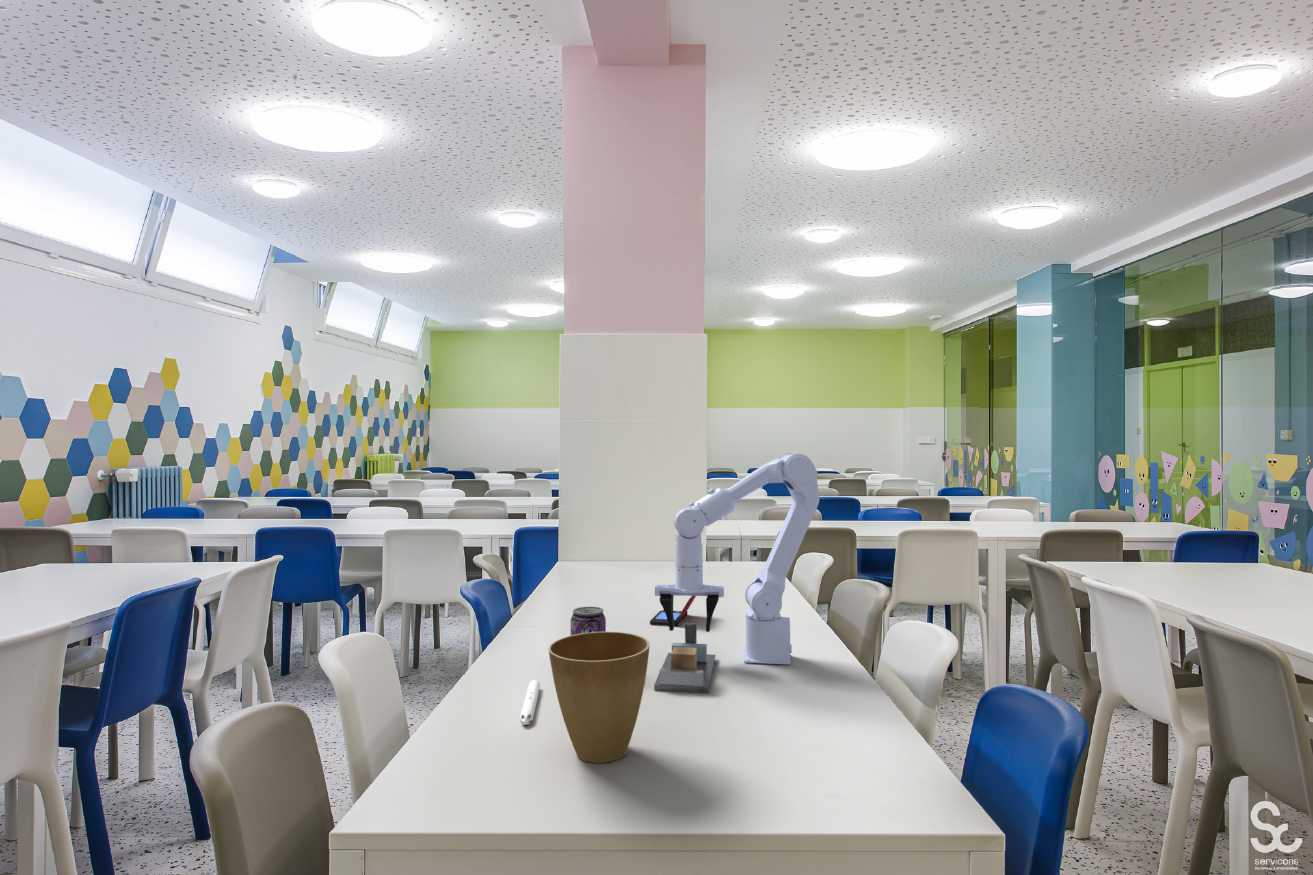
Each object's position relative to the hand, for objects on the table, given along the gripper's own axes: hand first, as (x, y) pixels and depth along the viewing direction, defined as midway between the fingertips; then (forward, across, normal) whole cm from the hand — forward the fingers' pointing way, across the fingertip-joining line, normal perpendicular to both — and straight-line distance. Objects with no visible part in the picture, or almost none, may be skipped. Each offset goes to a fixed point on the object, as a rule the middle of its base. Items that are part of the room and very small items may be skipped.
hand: (689, 630), depth 149 cm
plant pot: (+6, -9, -46) cm, 47 cm away
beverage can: (+6, -20, -9) cm, 23 cm away
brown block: (+5, 0, -14) cm, 15 cm away
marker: (+6, -25, -30) cm, 40 cm away
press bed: (+6, 0, -9) cm, 11 cm away
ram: (+5, 0, -3) cm, 6 cm away
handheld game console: (+7, -7, +32) cm, 34 cm away
